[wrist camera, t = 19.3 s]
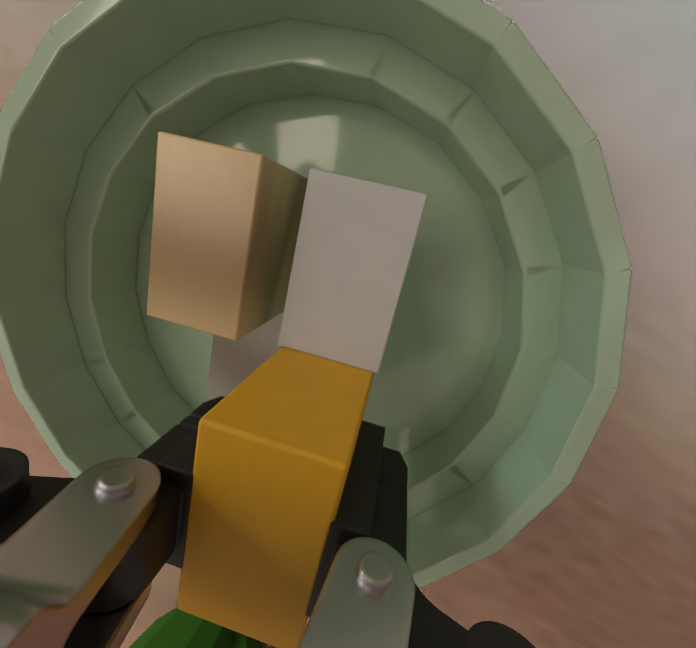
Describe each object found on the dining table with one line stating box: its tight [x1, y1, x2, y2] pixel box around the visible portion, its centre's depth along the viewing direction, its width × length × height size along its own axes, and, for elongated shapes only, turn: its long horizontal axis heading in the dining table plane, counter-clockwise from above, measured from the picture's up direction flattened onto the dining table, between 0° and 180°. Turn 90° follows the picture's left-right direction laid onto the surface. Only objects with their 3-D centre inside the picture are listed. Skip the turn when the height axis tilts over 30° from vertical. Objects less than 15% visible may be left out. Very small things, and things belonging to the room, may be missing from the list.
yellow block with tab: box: [177, 168, 428, 648], centre depth 8 cm, size 9×3×4 cm, turn 167°
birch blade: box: [147, 131, 308, 399], centre depth 11 cm, size 9×3×4 cm, turn 167°
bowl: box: [0, 0, 632, 588], centre depth 11 cm, size 17×17×5 cm
